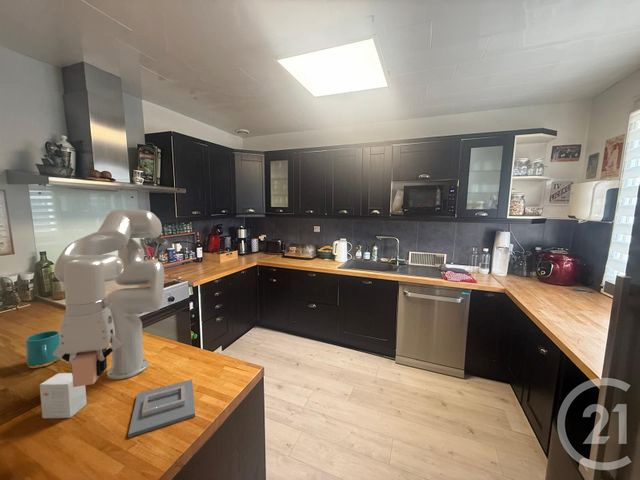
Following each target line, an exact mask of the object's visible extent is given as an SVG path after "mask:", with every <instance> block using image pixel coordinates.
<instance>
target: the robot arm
mask: <svg viewBox="0 0 640 480" xmlns="http://www.w3.org/2000/svg"><path fill="white" fill-rule="evenodd" d="M162 231H163V227H162V223H161V220H160V218H159V217H158V216H157V215H156V214H155V213H153V212H151V211H149V210H145V209H115V210H112V211H110V212H109V213H108V214H107V216H106V217H105V219H104V221H103V222H102V224H101V225H100V227H99V228H98V230H97V231H95V232H92V233H90V234H87V235H85V236H83V237H81V238H79V239H76V240H74V241H72V242H71V243H69V244H68V245H67V246H66V247H65V248H64V249H63V250H62V252H61V253H60V255H59V256H58V258H57V259H56V261H55V264H54V267H53V274H54V277H55V278H56V279H57V281H59V282H61V283H63V284H64V298H65V314H63V316H62V320H61V325H60V329H59V330H60V331H59V332H60V344H59V346H58V347H57V348H56V350H55V351H54V352H53V355H54V356H57V357H60V359H62V360H64V361H65V362H68V365H69V366H72V359H74V358H75V357H76V356H77V355H78V354H79V353H81V352H89V351H96V353H97V356H98V361H97V362H96V367H97V376H99V377H101V376H102V375H103V373H104V372H105V371H106V370H107V371H106V377H107V379H111V380H116V381H117V380H124V379H127V378H132V377H134V376H137V375H138V374H141V373H142V372H144V371H145V370H147V368H148V366H149V360H148V359H146V358H144V348H143V347H144V346H143V345H144V344H143V343H144V342H143V322H142V320H141V319H140V317H139V316H138V315H137V314H142V313H152V312H157V311H159V310H160V309H161V308H162V306H163V302H164V301H163V300H164V285H165V268H164V265H163V263H162V262H161V261H158V260H144V258H145V249H144V248H143V246H141V244H139V242H137V241H136V240H135V239H155V238H158V237H159V236H161V233H162ZM114 252H117V255H115V254H110V253H114ZM114 280H115V283H116V284H117V285H119V286H125V287H127V286H128V287H129V286H133V287H129V288H128V287H127V288H120V289H115V290H112V291H111V292H110V293H108V295H107V297H106V286H105V284H106V282H110V281H114ZM145 285H146V286H145ZM148 285H149V286H148ZM134 286H141V287H134ZM142 286H145V287H142ZM110 354H111V367H110V368H108V369H107V367H108V365H107V364H108V363H107V357H108V356H109V355H110Z"/></svg>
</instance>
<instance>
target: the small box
mask: <svg viewBox="0 0 640 480" xmlns="http://www.w3.org/2000/svg"><path fill="white" fill-rule="evenodd" d="M39 391H40V393H39V395H40V405H41V418H42V419H68V418H69V419H70V418H72V417H73V416H74V415H76V414H77V413H78V412H79V411H80V410H82V409H83V408H84V407H85V406H86V405H87V403H88V402H87V392H86V391H87V390H86V385H84V386H78V387H73V376H72V372H59V373H56V374H55V375H53V376H52V377H50V378H48V379H46V380H44V382H43V381H42V383H40V384H39Z"/></svg>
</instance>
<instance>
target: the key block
mask: <svg viewBox="0 0 640 480" xmlns="http://www.w3.org/2000/svg"><path fill="white" fill-rule="evenodd" d="M97 361H98V356H97V353H96V351H89V352H81V353H79V354H78V355H77V356H76V357H75V358H74V359H72V365H71V373H72V376H73V387H78V386H84V385H85V386H87V385H89V386H90V385H94V384H95V383H96V381H97V380H98V379H99V377H100V376H97V367H96V362H97Z"/></svg>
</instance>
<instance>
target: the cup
mask: <svg viewBox="0 0 640 480" xmlns="http://www.w3.org/2000/svg"><path fill="white" fill-rule="evenodd" d="M59 344H60V331H58V330H47V331H41V332H38V333H34V334H33V335H30V336H28V337H27V338H25V351H26V365H28V366H36V365H43V364H46V363H49V362H51V361H53V360H54V359H58V360H59V361H60V360H61V358H60V357H57V356H54V355H53V352H54V351H55V350H56V348H57V347H58V346H59ZM28 366H27V367H28Z"/></svg>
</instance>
